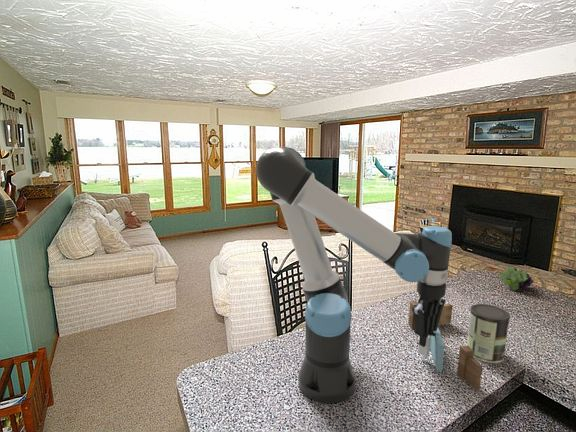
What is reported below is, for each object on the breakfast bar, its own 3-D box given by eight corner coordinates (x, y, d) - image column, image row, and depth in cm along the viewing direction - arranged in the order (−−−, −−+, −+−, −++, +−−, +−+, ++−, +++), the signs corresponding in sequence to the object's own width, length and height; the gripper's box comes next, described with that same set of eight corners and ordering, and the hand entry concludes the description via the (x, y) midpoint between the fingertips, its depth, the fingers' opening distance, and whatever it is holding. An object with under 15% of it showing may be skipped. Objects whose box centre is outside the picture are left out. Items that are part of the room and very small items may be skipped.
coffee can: (496, 345, 108) (501, 305, 105) (510, 365, 98) (516, 321, 96) (461, 342, 110) (466, 302, 107) (471, 361, 100) (476, 317, 98)
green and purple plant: (532, 296, 152) (513, 294, 145) (510, 284, 161) (491, 281, 154) (543, 276, 149) (524, 273, 143) (520, 264, 158) (501, 261, 152)
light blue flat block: (427, 341, 110) (429, 319, 108) (433, 342, 109) (435, 319, 108) (436, 371, 95) (439, 345, 94) (442, 372, 95) (445, 346, 93)
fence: (473, 392, 88) (476, 361, 86) (408, 325, 121) (410, 301, 119) (525, 386, 90) (529, 356, 88) (447, 322, 123) (449, 299, 121)
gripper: (430, 290, 89) (421, 368, 94) (457, 280, 96) (447, 353, 101) (406, 281, 95) (399, 354, 101) (433, 271, 102) (425, 341, 108)
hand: (423, 354), depth 101 cm, fingers closed
